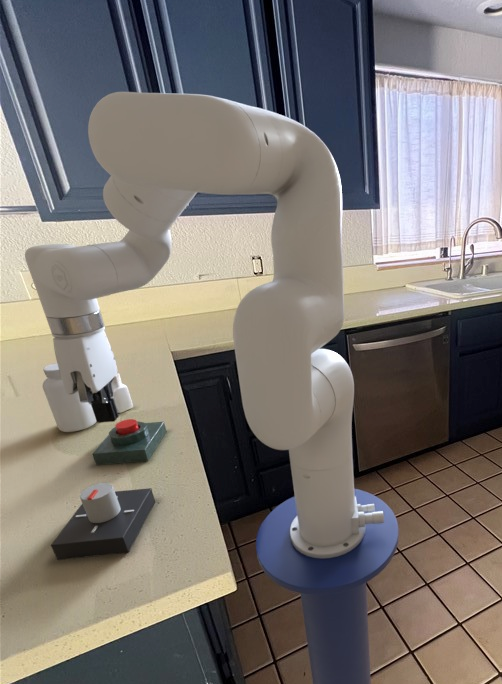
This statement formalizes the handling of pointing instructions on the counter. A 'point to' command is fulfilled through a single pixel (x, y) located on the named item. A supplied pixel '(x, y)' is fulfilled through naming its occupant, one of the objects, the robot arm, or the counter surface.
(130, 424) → the button
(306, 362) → the robot arm
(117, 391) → the small white square bottle
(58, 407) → the pill bottle
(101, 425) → the counter surface
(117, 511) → the hob knob
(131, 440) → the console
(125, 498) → the panel
